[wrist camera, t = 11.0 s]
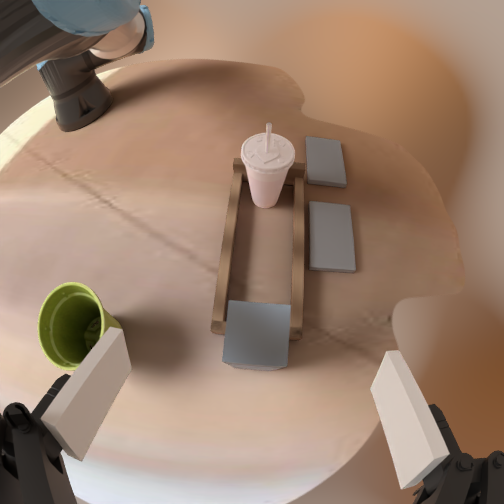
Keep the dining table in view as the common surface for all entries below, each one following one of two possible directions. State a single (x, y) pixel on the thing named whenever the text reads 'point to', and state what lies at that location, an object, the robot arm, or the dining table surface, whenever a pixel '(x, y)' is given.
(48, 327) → the plant pot
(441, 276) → the dining table surface
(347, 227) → the broken strip
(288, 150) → the smoothie
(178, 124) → the dining table surface
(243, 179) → the sled
